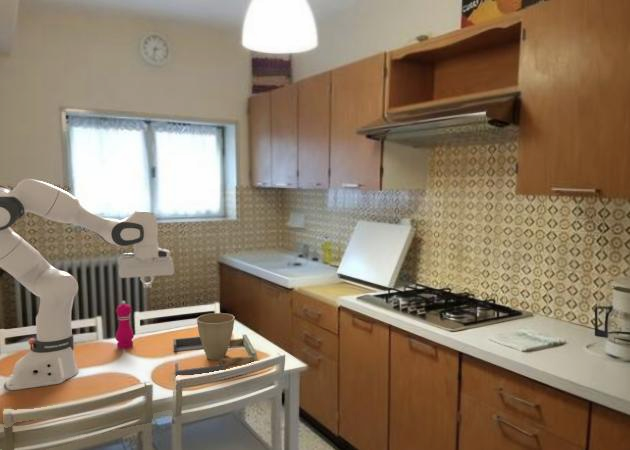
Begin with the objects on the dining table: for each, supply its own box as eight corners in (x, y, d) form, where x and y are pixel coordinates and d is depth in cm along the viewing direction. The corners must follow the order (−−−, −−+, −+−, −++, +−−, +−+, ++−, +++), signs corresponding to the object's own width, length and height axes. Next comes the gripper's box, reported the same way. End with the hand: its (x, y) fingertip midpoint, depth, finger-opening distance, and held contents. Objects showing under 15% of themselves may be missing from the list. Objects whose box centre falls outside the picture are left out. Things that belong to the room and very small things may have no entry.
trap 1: (173, 351, 190) (173, 344, 190) (173, 345, 198) (173, 339, 197) (215, 347, 196) (215, 340, 195) (213, 341, 203) (213, 335, 203)
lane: (222, 367, 174) (221, 356, 174) (215, 346, 197) (215, 337, 196) (256, 362, 179) (256, 352, 178) (246, 343, 201) (246, 334, 200)
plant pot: (209, 366, 175) (208, 325, 173) (190, 356, 186) (189, 317, 184) (242, 356, 185) (242, 318, 184) (222, 347, 196) (222, 310, 194)
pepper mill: (129, 349, 193) (128, 302, 192) (112, 349, 194) (111, 302, 192) (136, 343, 201) (135, 298, 199) (120, 343, 201) (118, 298, 199)
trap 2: (175, 379, 163) (175, 371, 163) (175, 371, 170) (175, 363, 170) (224, 373, 168) (224, 365, 168) (221, 366, 175) (221, 358, 175)
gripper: (116, 254, 172) (118, 291, 173) (173, 252, 178) (174, 287, 179) (118, 252, 178) (119, 287, 179) (173, 250, 184) (174, 284, 185)
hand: (147, 287), depth 179 cm, fingers closed
